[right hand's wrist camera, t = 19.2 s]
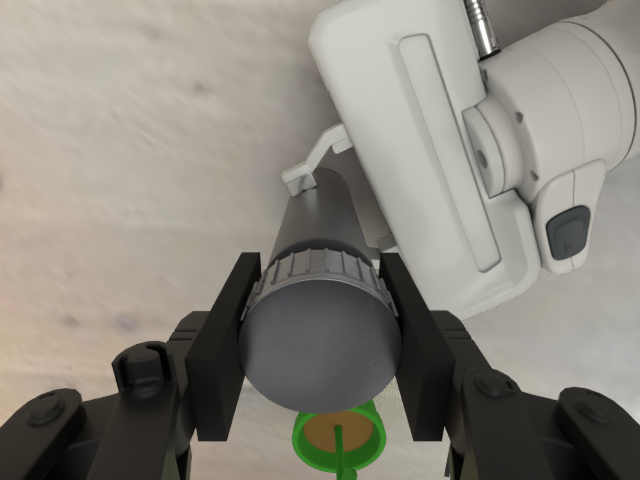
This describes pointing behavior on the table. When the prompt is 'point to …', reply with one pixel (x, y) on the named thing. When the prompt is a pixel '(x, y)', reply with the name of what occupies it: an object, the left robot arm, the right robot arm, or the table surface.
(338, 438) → the potted flower
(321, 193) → the bottle
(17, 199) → the table surface
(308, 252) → the lid
